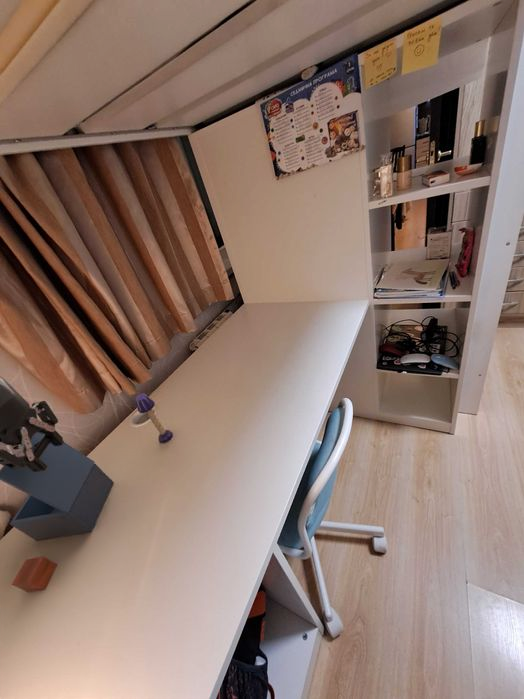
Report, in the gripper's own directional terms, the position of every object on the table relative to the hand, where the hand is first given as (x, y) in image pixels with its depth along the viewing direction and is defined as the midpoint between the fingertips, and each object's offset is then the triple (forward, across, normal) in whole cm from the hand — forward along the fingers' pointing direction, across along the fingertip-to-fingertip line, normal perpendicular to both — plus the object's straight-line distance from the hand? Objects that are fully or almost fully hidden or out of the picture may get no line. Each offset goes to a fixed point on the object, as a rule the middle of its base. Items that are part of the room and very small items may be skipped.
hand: (51, 456), depth 62 cm
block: (+21, +14, -8) cm, 27 cm away
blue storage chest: (+21, 0, -8) cm, 23 cm away
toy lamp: (+21, -19, +12) cm, 31 cm away
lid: (+4, 0, -3) cm, 5 cm away
